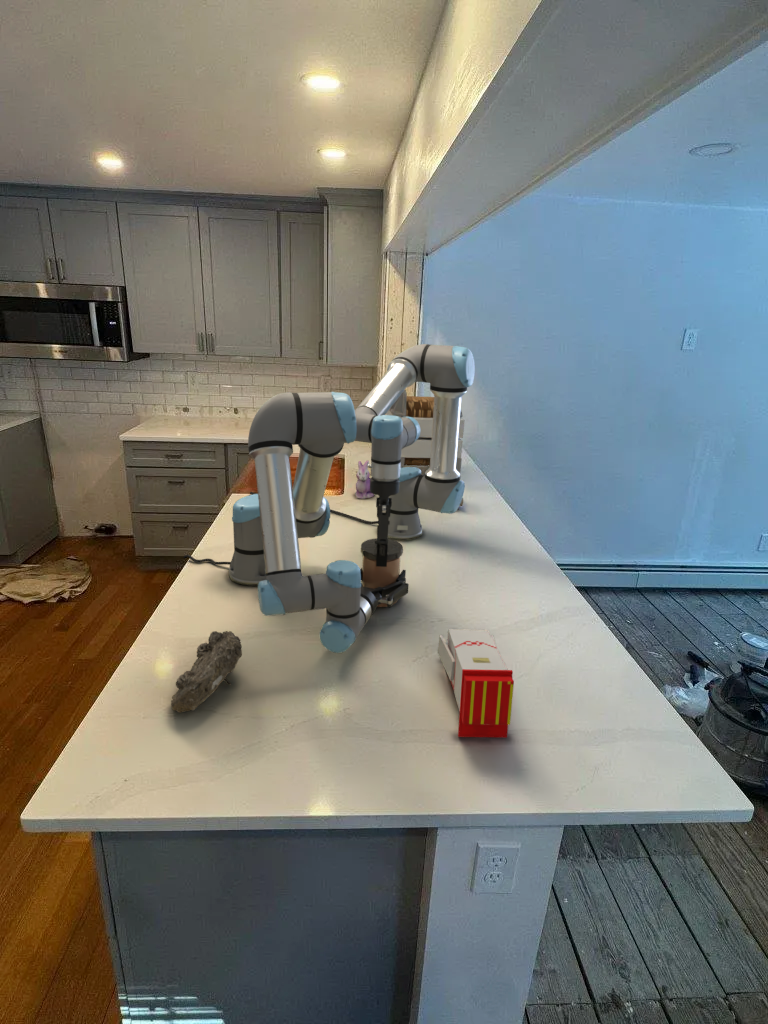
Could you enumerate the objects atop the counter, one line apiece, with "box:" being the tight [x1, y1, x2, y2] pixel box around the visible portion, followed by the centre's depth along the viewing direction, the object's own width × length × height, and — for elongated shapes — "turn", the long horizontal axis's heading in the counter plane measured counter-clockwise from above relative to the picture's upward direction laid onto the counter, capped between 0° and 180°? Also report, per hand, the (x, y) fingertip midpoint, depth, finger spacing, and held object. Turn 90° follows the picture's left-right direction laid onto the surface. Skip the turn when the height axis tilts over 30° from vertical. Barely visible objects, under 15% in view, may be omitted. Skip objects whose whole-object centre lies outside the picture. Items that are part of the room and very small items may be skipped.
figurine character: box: [456, 497, 464, 511], centre depth 230 cm, size 7×8×15 cm
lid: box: [360, 537, 404, 560], centre depth 150 cm, size 11×11×2 cm
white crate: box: [386, 389, 465, 475], centre depth 268 cm, size 34×33×41 cm
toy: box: [437, 628, 515, 738], centre depth 117 cm, size 12×13×30 cm
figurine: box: [354, 460, 375, 500], centre depth 236 cm, size 9×10×15 cm
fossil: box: [170, 630, 243, 713], centre depth 116 cm, size 22×10×15 cm
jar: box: [361, 554, 402, 608], centre depth 153 cm, size 10×10×15 cm
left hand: (385, 570), depth 157 cm, fingers closed on jar, 10 cm apart
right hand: (381, 556), depth 151 cm, fingers closed on lid, 11 cm apart
